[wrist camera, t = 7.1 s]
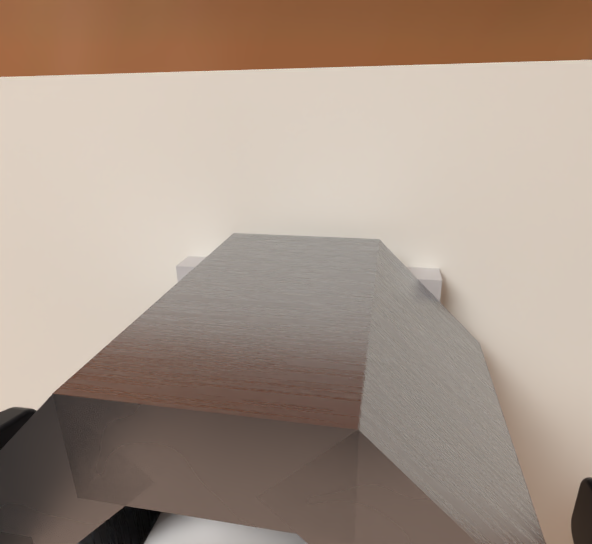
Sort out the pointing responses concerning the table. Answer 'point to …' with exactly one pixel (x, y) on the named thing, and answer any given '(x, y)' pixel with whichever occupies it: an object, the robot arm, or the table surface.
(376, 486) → the tube
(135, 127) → the shaft stand
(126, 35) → the table surface
